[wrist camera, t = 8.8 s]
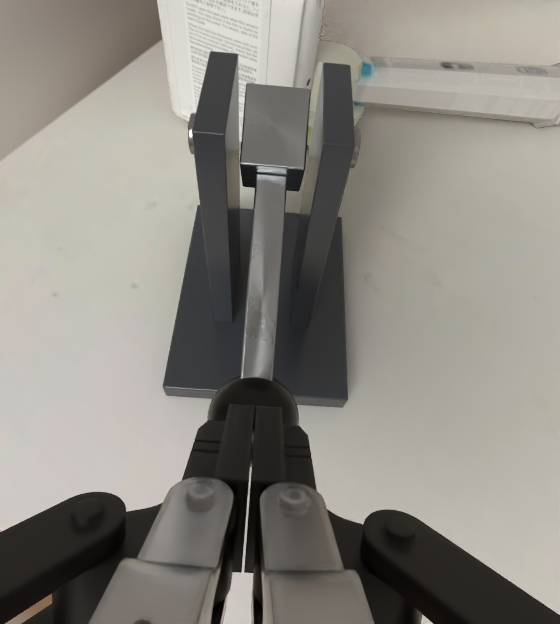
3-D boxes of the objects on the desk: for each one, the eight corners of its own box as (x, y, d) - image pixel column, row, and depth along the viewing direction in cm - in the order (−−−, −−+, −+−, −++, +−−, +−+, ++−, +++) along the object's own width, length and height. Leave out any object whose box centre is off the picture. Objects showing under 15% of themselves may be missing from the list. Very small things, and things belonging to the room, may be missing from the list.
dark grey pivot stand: (343, 408, 23) (438, 249, 12) (165, 396, 22) (89, 220, 11) (338, 229, 29) (396, 14, 18) (199, 217, 28) (171, -9, 17)
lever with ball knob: (292, 454, 17) (298, 483, 14) (209, 449, 17) (197, 476, 14) (315, 127, 18) (327, 82, 15) (236, 120, 18) (230, 73, 14)
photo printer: (313, 132, 33) (346, -75, 23) (290, 166, 31) (314, -44, 21) (194, 89, 35) (174, -123, 24) (164, 118, 33) (127, -99, 22)
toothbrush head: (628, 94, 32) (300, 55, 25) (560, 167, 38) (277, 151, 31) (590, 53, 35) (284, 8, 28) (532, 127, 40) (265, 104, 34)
